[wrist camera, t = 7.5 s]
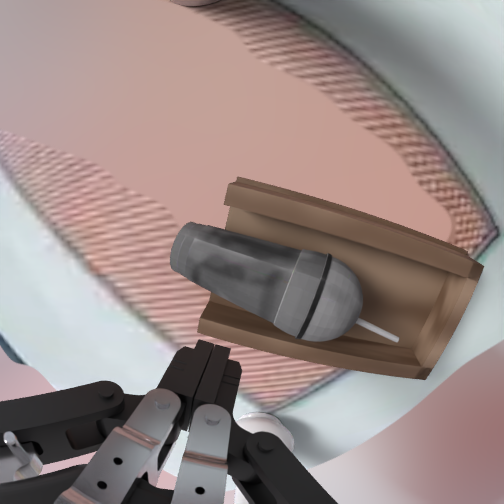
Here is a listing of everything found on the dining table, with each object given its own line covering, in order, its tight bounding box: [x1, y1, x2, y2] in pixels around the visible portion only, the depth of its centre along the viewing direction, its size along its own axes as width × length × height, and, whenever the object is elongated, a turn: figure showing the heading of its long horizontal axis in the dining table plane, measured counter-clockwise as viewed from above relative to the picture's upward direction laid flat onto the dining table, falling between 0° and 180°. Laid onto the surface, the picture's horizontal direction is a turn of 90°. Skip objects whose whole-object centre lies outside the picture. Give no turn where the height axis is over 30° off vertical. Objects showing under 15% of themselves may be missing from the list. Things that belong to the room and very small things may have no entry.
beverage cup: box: [170, 222, 399, 343], centre depth 23 cm, size 7×7×20 cm
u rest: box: [197, 177, 484, 380], centre depth 24 cm, size 14×24×4 cm, turn 76°
